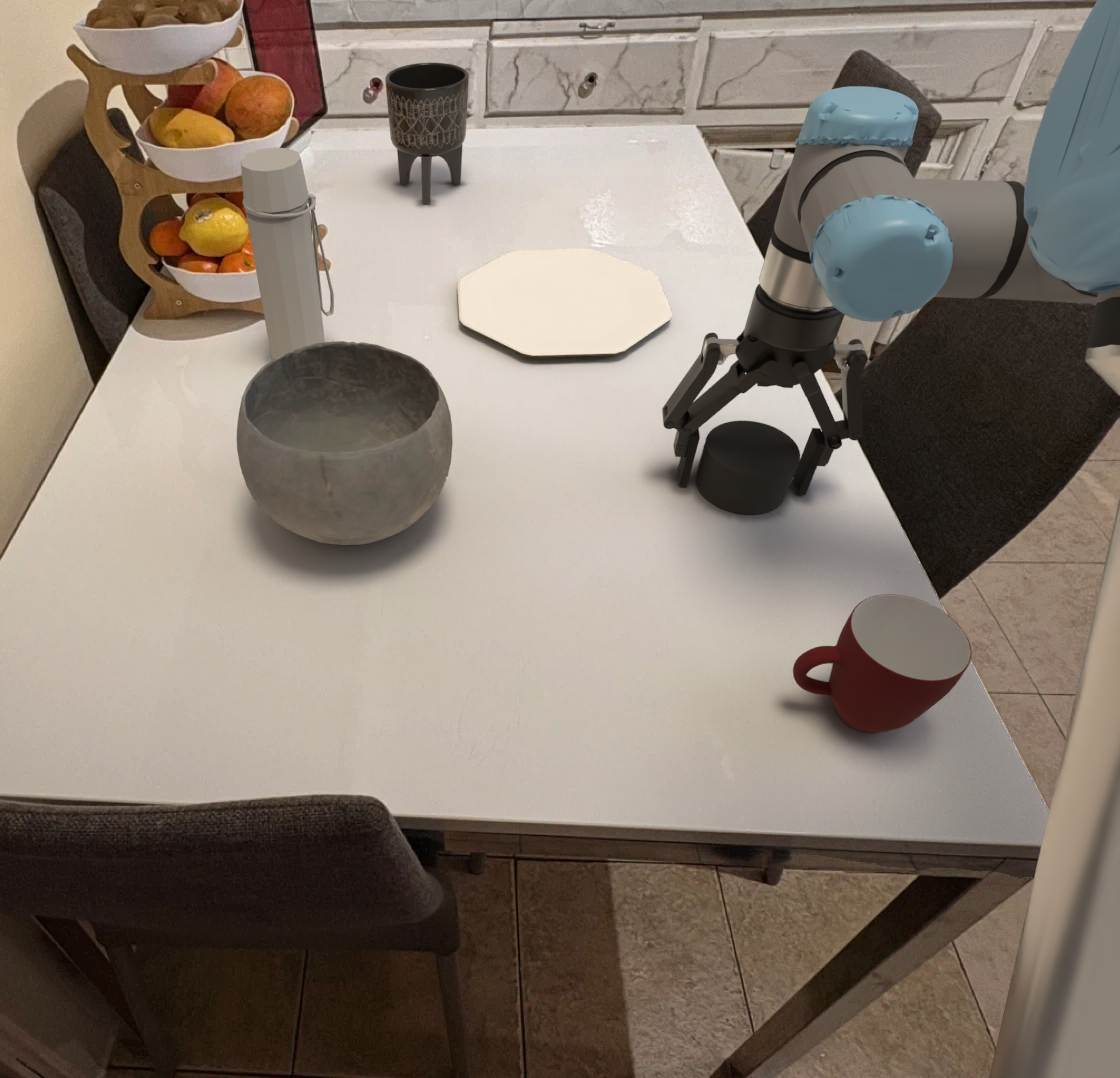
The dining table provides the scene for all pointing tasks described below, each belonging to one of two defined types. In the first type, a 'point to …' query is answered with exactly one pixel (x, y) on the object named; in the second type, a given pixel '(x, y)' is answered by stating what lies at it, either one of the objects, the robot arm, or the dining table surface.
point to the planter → (428, 118)
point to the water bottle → (284, 248)
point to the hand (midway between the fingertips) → (740, 482)
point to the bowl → (344, 441)
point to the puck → (747, 467)
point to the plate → (562, 302)
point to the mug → (888, 662)
